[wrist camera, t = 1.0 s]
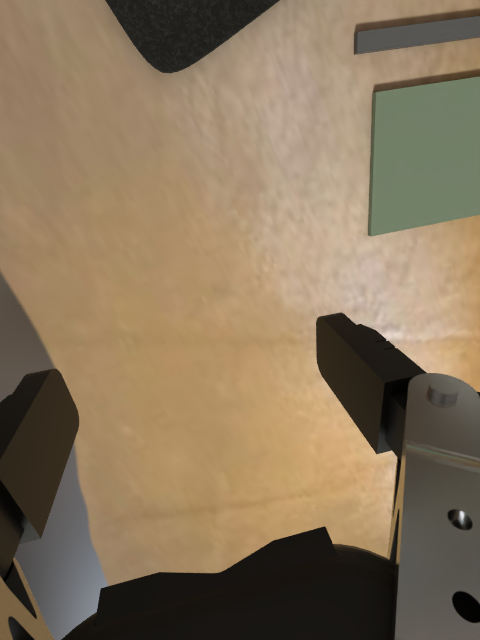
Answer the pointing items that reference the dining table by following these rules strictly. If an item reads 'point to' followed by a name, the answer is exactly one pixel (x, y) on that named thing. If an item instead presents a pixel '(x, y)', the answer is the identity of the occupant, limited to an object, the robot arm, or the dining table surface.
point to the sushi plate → (183, 27)
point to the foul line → (416, 35)
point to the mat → (424, 155)
